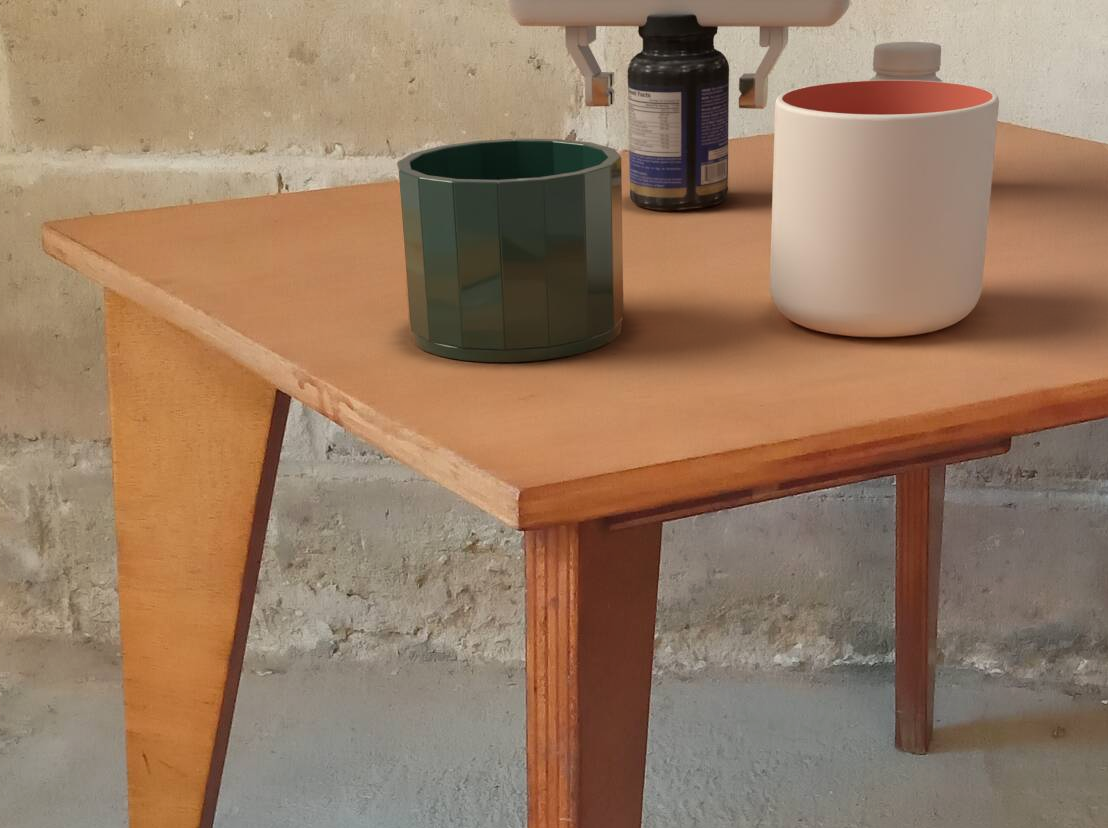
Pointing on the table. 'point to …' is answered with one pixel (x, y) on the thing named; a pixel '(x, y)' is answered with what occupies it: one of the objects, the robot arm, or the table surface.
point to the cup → (881, 204)
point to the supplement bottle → (907, 61)
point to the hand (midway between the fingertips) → (675, 106)
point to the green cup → (512, 248)
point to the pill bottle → (678, 116)
